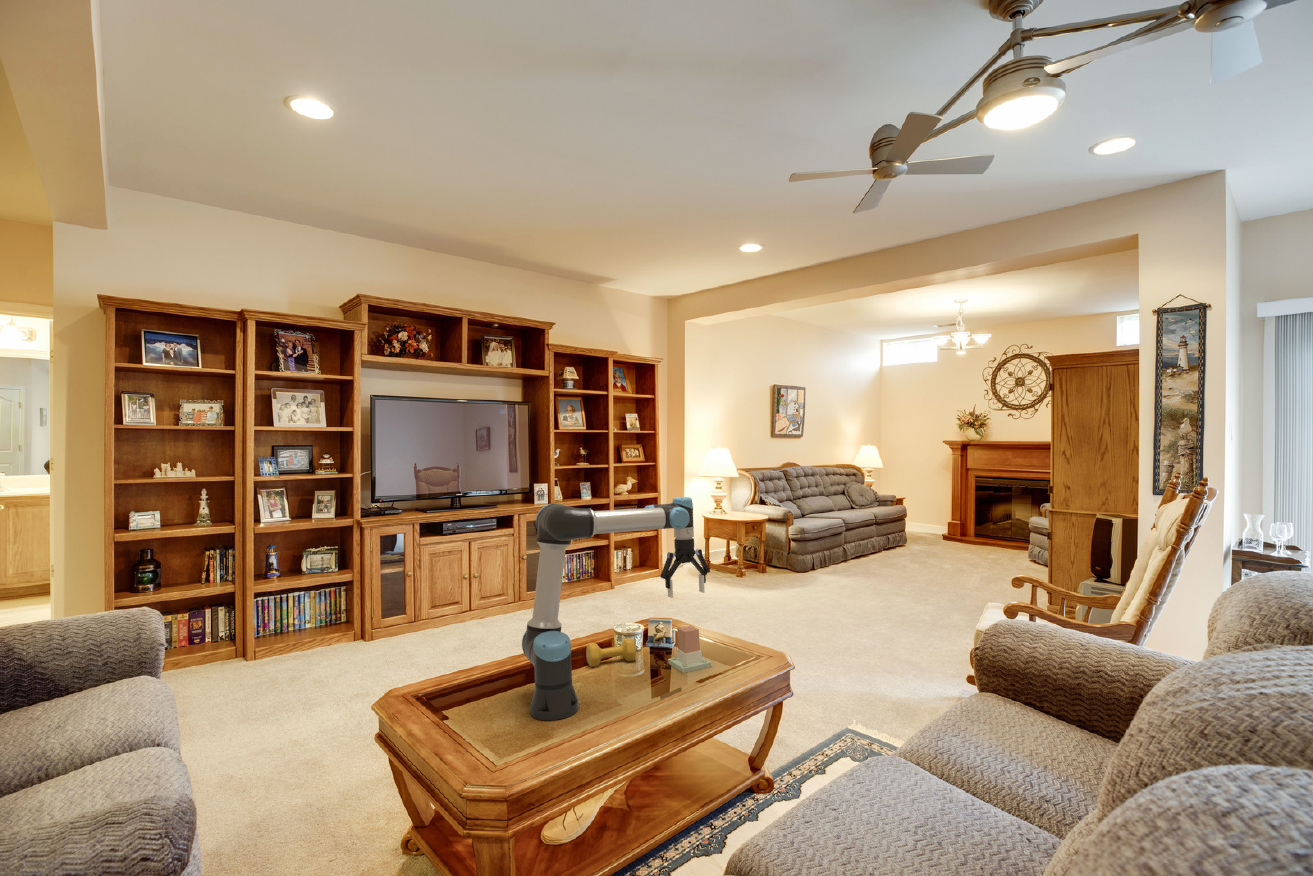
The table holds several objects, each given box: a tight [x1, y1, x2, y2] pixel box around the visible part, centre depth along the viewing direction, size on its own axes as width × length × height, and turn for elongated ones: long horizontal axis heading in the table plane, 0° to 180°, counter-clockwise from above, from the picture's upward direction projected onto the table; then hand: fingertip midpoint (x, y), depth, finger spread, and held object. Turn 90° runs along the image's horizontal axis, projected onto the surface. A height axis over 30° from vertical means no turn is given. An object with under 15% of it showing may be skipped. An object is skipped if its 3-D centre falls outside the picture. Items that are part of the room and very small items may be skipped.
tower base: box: [667, 648, 712, 674], centre depth 228 cm, size 12×12×6 cm
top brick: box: [676, 625, 701, 654], centre depth 228 cm, size 6×6×8 cm
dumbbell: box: [585, 637, 637, 668], centre depth 234 cm, size 19×9×8 cm, turn 106°
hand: (686, 594), depth 228 cm, fingers open, 13 cm apart
